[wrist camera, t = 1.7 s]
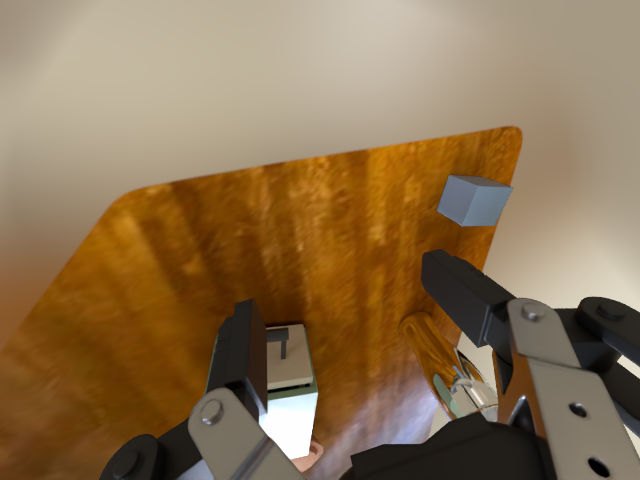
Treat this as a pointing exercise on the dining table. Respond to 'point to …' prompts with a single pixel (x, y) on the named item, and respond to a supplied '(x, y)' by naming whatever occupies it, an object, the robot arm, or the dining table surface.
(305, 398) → the cabinet
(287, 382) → the drawer
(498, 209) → the block
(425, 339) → the metal cup
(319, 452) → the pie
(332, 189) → the dining table surface
